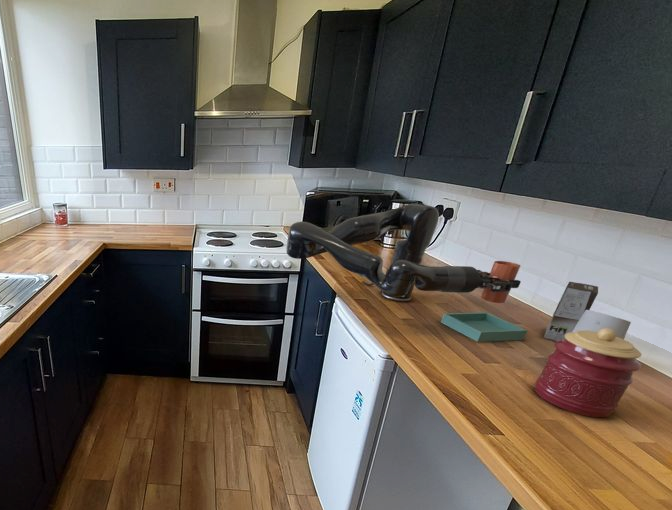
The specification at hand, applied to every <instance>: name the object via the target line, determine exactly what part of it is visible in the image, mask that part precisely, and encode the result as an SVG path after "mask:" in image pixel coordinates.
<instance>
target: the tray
mask: <svg viewBox="0 0 672 510" xmlns="http://www.w3.org/2000/svg"><path fill="white" fill-rule="evenodd" d="M440 324H443V325H445V326H446V327H449V328H450V329H452V330H454V331H456V332H458V333H460V334H461V335H464V336H466V337H468V338H469V339H471V340H473V341H475V342H476V343H481V342H483V343H485V342H486V343H487V342H501V341H502V342H505V341H506V342H507V341H524V340H525V337H526V335H527V333H528V329H525V328H523V327H521V326H519V325H516V324H514V323H512V322H510V321H507V320H505V319H503V318H501V317H498V316H496V315H495V314H492V313H489V312H487V311H483V312H451V313H450V312H449V313H443V315H442V318H441V320H440Z"/></svg>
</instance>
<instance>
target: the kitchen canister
mask: <svg viewBox="0 0 672 510" xmlns="http://www.w3.org/2000/svg"><path fill="white" fill-rule="evenodd" d="M565 338H566V339H565V340H559V341H555V342H554V347H555V350H554V351H553V353H550V354H549V355H548V356H547V361H546V363H545V366H544V367H543V369H542V371H541V373H540V374H539V376H538V377H537V379H536V381H535V383H534V384H535V386H534V391H535V393H536V394H537V395H538V396H539V397H540V398H541V399H543V400H544V401H546V402H548V403H550V404H552V405H554V406H555V407H558V408H560V409H563V410H566V411H568V412H571V413H574V414H578V415H582V416H586V417H592V418H606V417H609V416H610V415H612V413H613V412H615V411H616V410H617V408H618V406H619V402H620V401H621V399H622V397H623V396H624V394H625V393H626V391H627V389H628V388H629V386H630V385H631V384H632V383H633V381H634V379H633V374H634V372H636V371H637V372H638V371H639V370H641V368H642V364H641V363H640V362H639V360H638V359H639V358H641V356H642V352H641V351H640V350H639V349H637V348H636V347H635V346H634V345H633V344H632V343H631V342H629V341H627V340H625V339H624V340H623V339H621V338H618V337H616V332H615V331H614V330H612V329H609V328H604V329H601V330H599V331H598V332H594V331H584V330H582V331H577V332H570V333H566V334H565Z"/></svg>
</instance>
